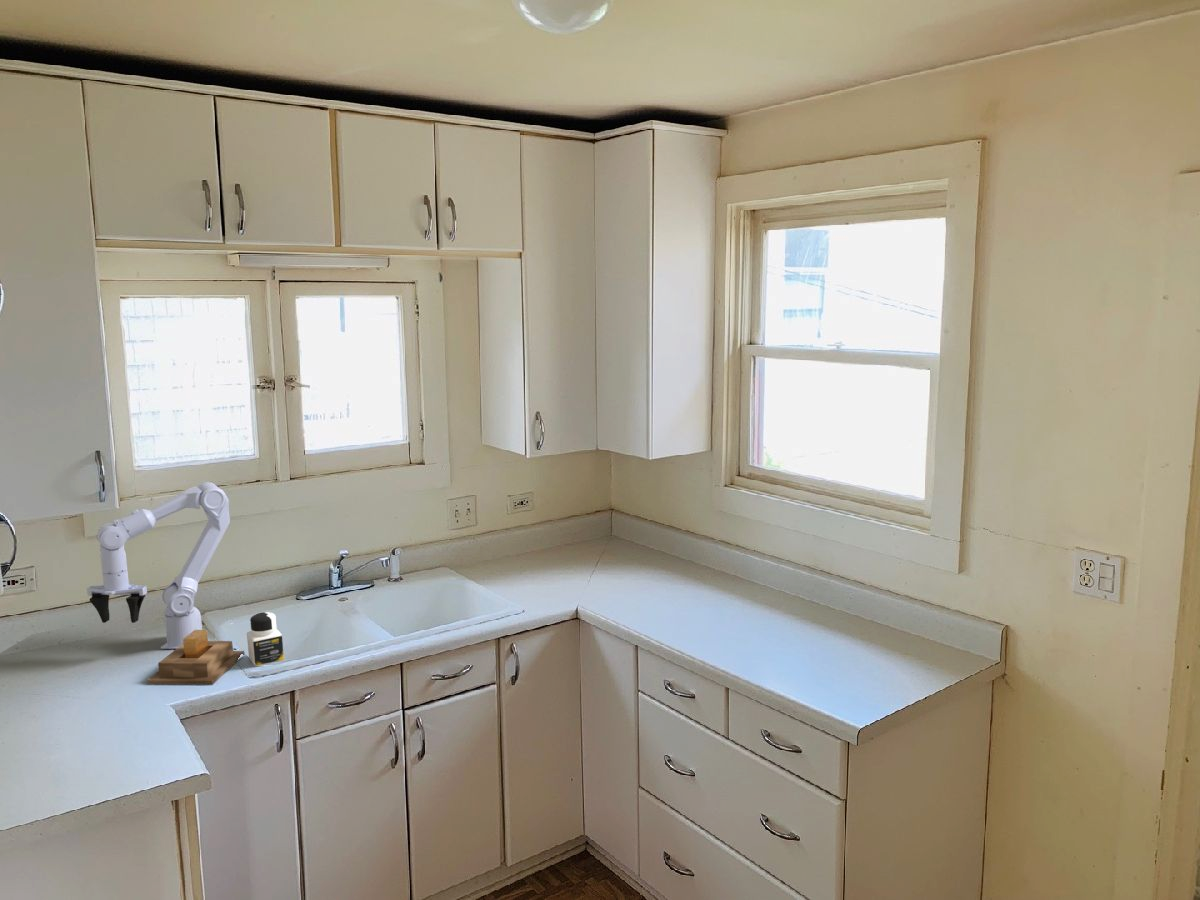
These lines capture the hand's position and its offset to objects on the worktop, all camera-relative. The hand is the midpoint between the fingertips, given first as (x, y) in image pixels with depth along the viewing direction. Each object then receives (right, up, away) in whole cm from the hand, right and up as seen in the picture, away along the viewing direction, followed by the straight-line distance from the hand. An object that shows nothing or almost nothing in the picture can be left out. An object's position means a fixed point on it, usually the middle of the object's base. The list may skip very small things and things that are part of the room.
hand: (120, 621), depth 235 cm
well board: (+23, -11, -7) cm, 26 cm away
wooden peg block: (+23, -10, -7) cm, 26 cm away
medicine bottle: (+38, -10, -2) cm, 39 cm away
